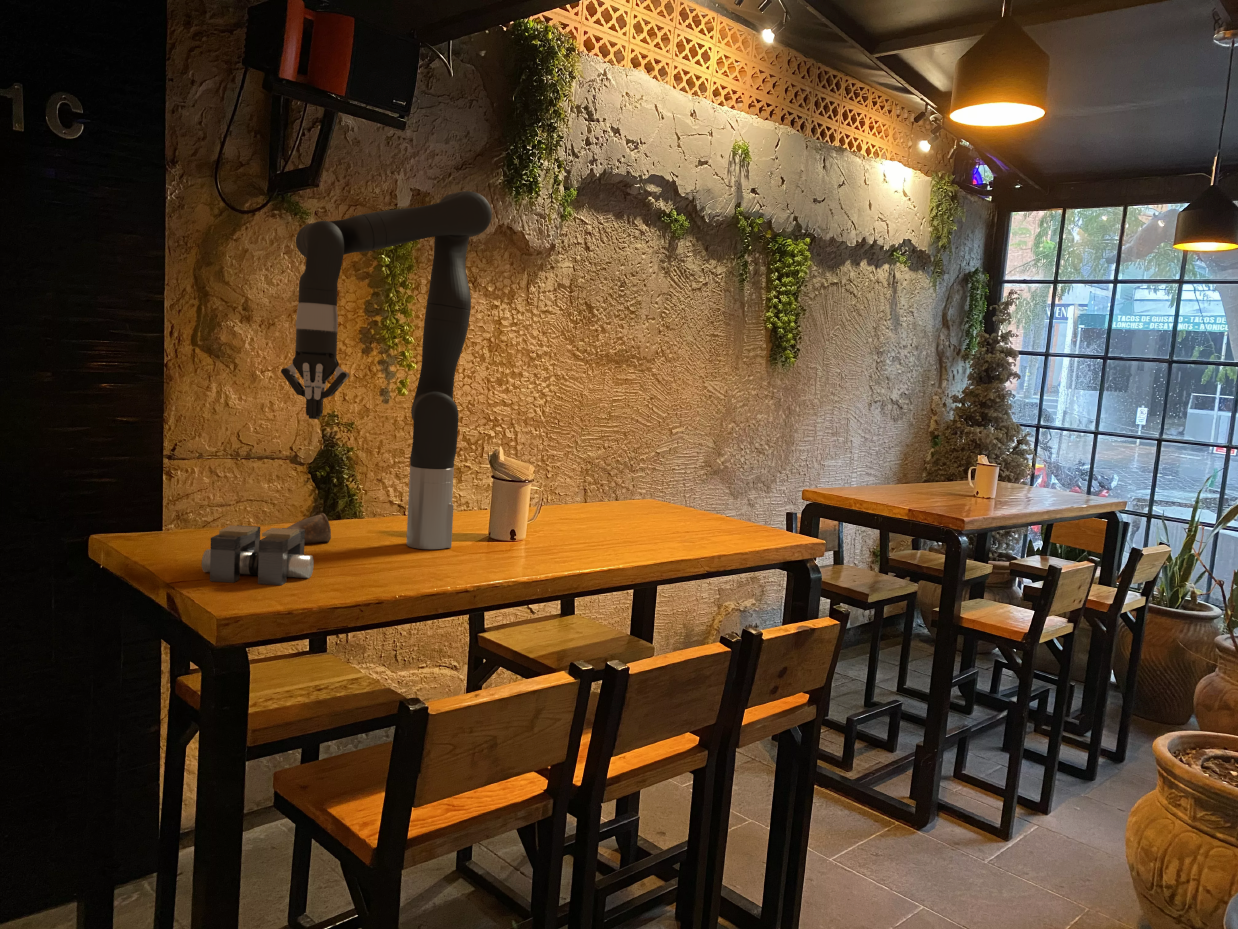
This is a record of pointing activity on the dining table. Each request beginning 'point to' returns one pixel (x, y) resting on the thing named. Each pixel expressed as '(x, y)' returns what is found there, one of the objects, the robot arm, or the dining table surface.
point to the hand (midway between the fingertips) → (313, 418)
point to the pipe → (315, 529)
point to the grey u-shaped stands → (248, 540)
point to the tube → (249, 561)
